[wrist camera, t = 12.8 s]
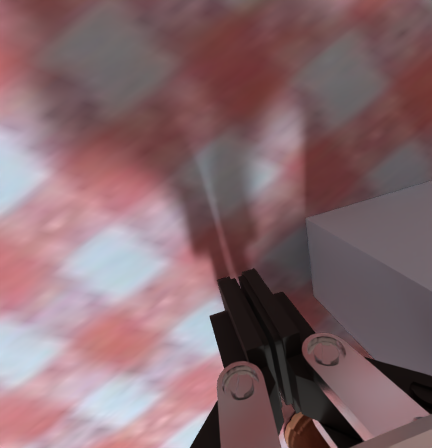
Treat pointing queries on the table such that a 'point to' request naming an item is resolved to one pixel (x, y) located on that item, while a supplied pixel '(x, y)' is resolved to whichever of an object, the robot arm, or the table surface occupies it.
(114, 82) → the table surface
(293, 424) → the coffee cup
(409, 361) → the grey rectangular block
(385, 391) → the robot arm
